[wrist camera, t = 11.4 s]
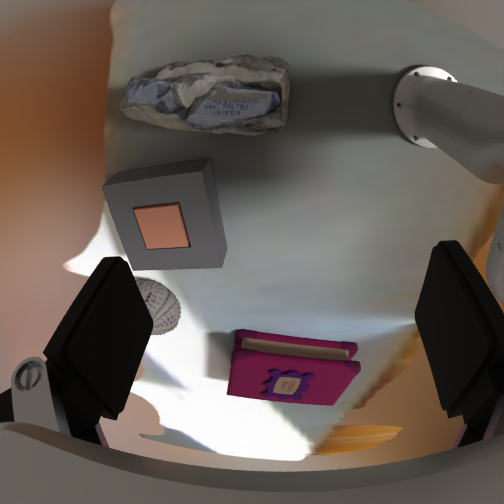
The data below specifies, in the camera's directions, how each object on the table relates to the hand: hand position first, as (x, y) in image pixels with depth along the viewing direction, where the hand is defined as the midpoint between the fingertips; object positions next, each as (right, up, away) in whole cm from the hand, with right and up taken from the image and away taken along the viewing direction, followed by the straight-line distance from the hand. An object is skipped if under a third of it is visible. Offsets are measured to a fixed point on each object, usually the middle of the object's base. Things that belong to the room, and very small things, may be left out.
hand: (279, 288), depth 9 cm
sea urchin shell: (-21, -9, +54) cm, 58 cm away
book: (+8, -25, +63) cm, 68 cm away
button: (-14, +6, +38) cm, 41 cm away
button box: (-14, +8, +41) cm, 44 cm away
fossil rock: (-6, +24, +29) cm, 38 cm away
